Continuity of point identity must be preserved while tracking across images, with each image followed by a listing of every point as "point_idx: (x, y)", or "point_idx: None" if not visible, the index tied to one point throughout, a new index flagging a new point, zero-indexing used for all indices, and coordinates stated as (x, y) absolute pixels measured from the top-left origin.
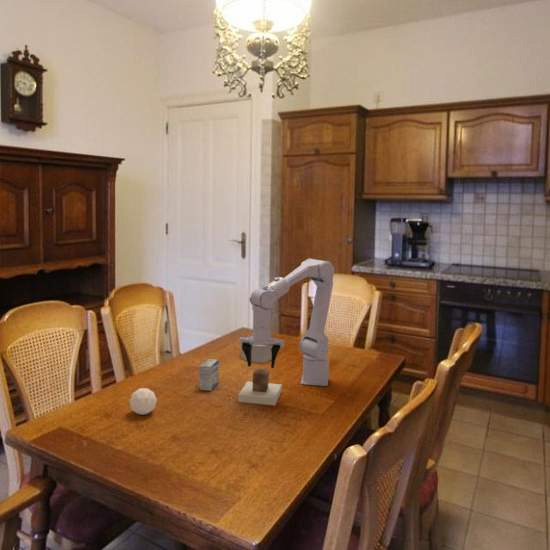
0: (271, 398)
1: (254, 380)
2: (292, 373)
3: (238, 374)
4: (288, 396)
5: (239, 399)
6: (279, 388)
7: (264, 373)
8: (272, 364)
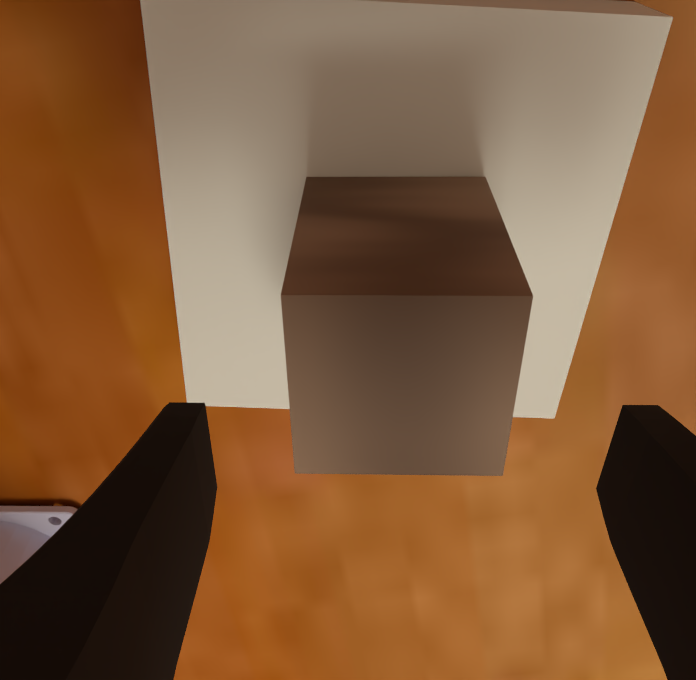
0: None
1: (483, 237)
2: (208, 647)
3: (617, 585)
4: (96, 259)
5: (631, 5)
6: (179, 306)
7: (334, 329)
8: (155, 444)
